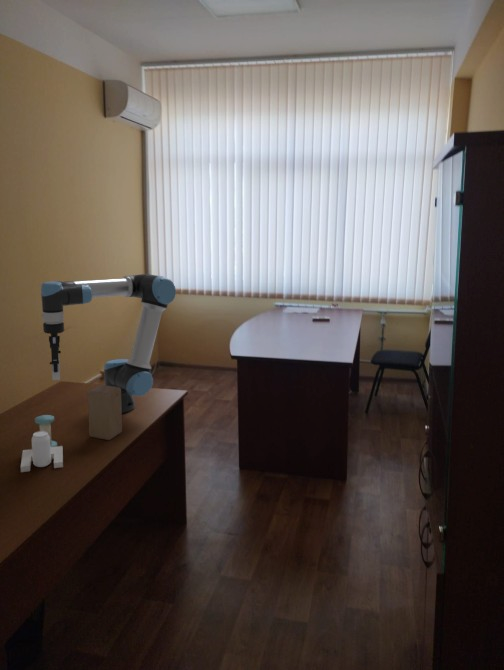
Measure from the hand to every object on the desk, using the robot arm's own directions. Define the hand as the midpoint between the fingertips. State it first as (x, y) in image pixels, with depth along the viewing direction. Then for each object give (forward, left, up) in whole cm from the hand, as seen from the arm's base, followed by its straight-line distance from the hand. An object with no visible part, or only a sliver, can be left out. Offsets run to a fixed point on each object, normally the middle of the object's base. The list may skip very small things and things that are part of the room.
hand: (56, 374), depth 212 cm
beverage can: (+6, +23, -27) cm, 36 cm away
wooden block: (-18, +2, -27) cm, 32 cm away
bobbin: (+5, +8, -27) cm, 28 cm away
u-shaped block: (+6, +20, -27) cm, 34 cm away
